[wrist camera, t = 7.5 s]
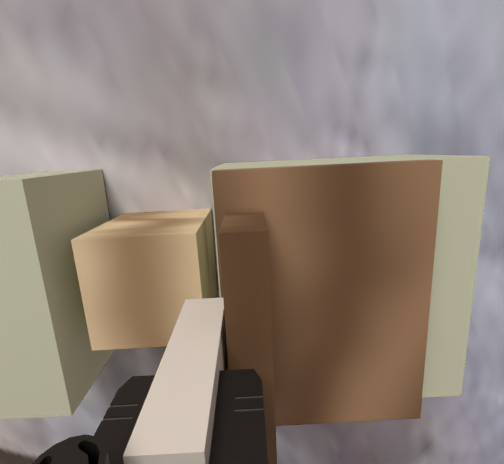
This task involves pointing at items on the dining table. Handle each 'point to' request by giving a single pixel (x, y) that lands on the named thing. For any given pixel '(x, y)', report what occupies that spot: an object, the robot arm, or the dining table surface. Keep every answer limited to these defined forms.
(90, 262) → the maple block
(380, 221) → the walnut cover
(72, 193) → the pale green split block
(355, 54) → the dining table surface
